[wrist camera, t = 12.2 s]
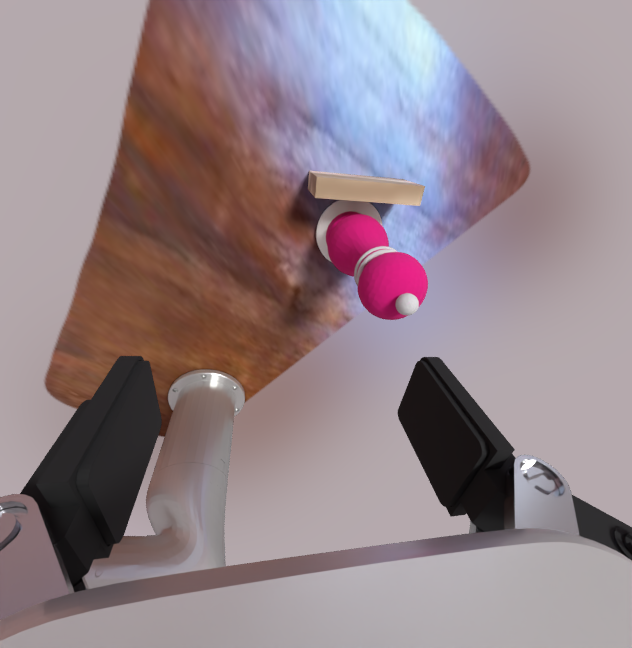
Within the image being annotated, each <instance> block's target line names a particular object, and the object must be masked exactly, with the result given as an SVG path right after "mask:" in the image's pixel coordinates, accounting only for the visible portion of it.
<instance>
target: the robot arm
mask: <svg viewBox="0 0 632 648" xmlns="http://www.w3.org/2000/svg"><path fill="white" fill-rule="evenodd" d="M168 402H169V405H170V407H171V409H172V410H173V413H172V416H171V419H170V423H169V426H168V429H167V432H166V435H165V438H164V442H163V444H162V447H161V450H160V453H159V457H158V460H157V463H156V466H155V469H154V472H153V475H152V479H151V481H150V484H149V488H148V491H147V497H146V508H147V513H148V517H149V520H150V522H151V525H152V527H153V529H154V531H155V533H156V535H151V536H146V537H145V536H123V535H124V533H125V530H126V527H127V524H128V521H129V518H130V515H131V512H132V509H133V506H134V503H135V501H136V498H137V495H138V492H139V489H140V486H141V484H142V481H143V478H144V475H145V472H146V468H147V466H148V463H149V461H150V457H151V455H152V452H153V449H154V446H155V443H156V440H157V437H158V435H159V432H160V428H161V414H160V409H159V405H158V400H157V395H156V390H155V386H154V381H153V376H152V371H151V367H150V363H149V361H144V360H143V358H142V357H141V356H121V357H119V358H118V359H117V361H116V362H115V364H114V365H113V367H112V368H111V370H110V371H109V373H108V375H107V376H106V378H105V379H104V381H103V382H102V384H101V385H100V387H99V388H98V390H97V391H96V393H95V394H94V396H93V398H92V399H91V400H86V401H84V402H83V403H82V404H81V405H80V406H79V408H78V409H77V411H76V412H75V414H74V415H73V417H72V418H71V420H70V421H69V422H68V424H67V425H66V427H65V429H64V430H63V431H62V433H61V434H60V436H59V437H58V439H57V440H56V442H55V443H54V445H53V446H52V448H51V449H50V450H49V452H48V453H47V455H46V456H45V458H44V459H43V461H42V462H41V464H40V465H39V467H38V468H37V470H36V471H35V472H34V474H33V475H32V477H31V478H30V480H29V481H28V483H27V484H26V486H25V487H24V489H23V490H22V492H21V493H20V494H12V495H8V496H3V497H0V648H632V527H630V526H628V525H626V524H625V523H623V522H621V521H619V520H617V519H615V518H614V517H612V516H610V515H608V514H606V513H604V512H602V511H601V510H599V509H597V508H595V507H593V506H592V505H590V504H588V503H586V502H584V501H582V500H581V499H579V498H577V497H575V496H573V495H572V494H571V490H570V487H569V485H568V483H567V482H566V480H565V479H564V477H563V476H562V475H561V474H560V473H559V472H558V471H557V470H556V469H555V468H553V467H552V466H551V465H549V464H548V463H546V462H545V461H543V460H541V459H539V458H536V457H534V456H530V455H520V456H518V457H517V458H515V457H514V456H513V454H512V452H513V451H514V448H513V447H512V446H511V445H510V443H509V442H508V441H507V440H506V438H505V437H504V436H503V435H502V434H501V432H500V431H499V430H498V429H497V428H496V426H495V425H494V424H493V423H492V421H491V420H490V419H489V418H488V417H487V415H486V414H485V413H484V412H483V410H482V409H481V408H480V407H479V406H478V404H477V403H476V402H475V401H474V399H473V398H472V397H471V396H470V394H469V393H468V392H467V391H466V390H465V388H464V387H463V386H462V385H461V383H460V382H459V381H458V380H457V378H456V377H455V376H454V375H453V374H452V372H451V371H450V370H449V369H448V368H447V366H446V365H445V364H444V363H443V361H442V360H441V359H440V358H438V357H423V358H422V359H421V360H420V361H418V362H417V363H416V365H415V368H414V371H413V373H412V376H411V378H410V381H409V383H408V386H407V389H406V391H405V394H404V396H403V399H402V401H401V404H400V406H399V409H398V417H399V420H400V422H401V424H402V426H403V428H404V430H405V432H406V434H407V436H408V438H409V440H410V442H411V444H412V446H413V448H414V450H415V452H416V455H417V457H418V459H419V461H420V463H421V465H422V467H423V469H424V471H425V473H426V475H427V477H428V478H429V481H430V483H431V485H432V487H433V489H434V491H435V493H436V495H437V497H438V499H439V501H440V503H441V504H442V505H443V506H445V507H446V508H447V510H448V512H449V514H450V516H458V515H465V514H466V513H467V514H468V516H469V518H470V520H471V521H470V530H469V534H462V535H455V536H447V537H439V538H432V539H423V540H416V541H408V542H400V543H393V544H386V545H379V546H370V547H364V548H356V549H349V550H341V551H334V552H326V553H319V554H312V555H305V556H298V557H290V558H283V559H275V560H269V561H261V562H255V563H247V564H240V565H233V566H226V565H225V543H224V522H225V521H224V520H225V505H226V493H227V483H228V472H229V462H230V452H231V442H232V431H233V422H234V416H236V415H237V414H238V413H239V412H240V411H241V409H242V408H243V406H244V402H245V392H244V389H243V387H242V385H241V384H240V383H239V382H238V381H237V380H236V379H235V378H234V377H232V376H231V375H228V374H226V373H224V372H220V371H217V370H195V371H191V372H188V373H186V374H184V375H182V376H180V377H179V378H177V379H176V380H175V381H174V382H173V384H172V386H171V388H170V390H169V393H168Z"/></svg>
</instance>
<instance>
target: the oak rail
mask: <svg viewBox="0 0 632 648" xmlns="http://www.w3.org/2000/svg"><path fill="white" fill-rule="evenodd" d="M424 188H425V186H422V185H419V184H416V183H413V182H410V181H407V180H404V179H394V178H383V177H372V176H361V175H350V174H339V173H328V172H317V171H309V180H308V190H309V191H310V192H311V194H312V195H313V196H314V197H315V198H322V199H336V200H349V201H363V202H376V203H390V204H403V205H417V206H420V203H421V200H422V196H423V192H424Z"/></svg>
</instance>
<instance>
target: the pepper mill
mask: <svg viewBox="0 0 632 648" xmlns="http://www.w3.org/2000/svg"><path fill="white" fill-rule="evenodd" d="M326 243H327V246H328V254H329V257H330V260H331V261H332V263H333V264H334V265H335V267H336V268H337V269H338V270H339V271H341V272H343V273H345V274H347V275H350V276H354V278H355V282H356V284H357V286H358V294H359V298H360V300H361V302H362V304H363V306H364V307H365V308H366V309H367V310H368V311H369V312H370V313H371V314H373V315H375V316H377V317H379V318H382V319H388V320H395V319H400V318H404V317H406V316H408V315H412V314H413V313H415V312H416V310H417V309H418V307H419V306H420V305H421V303H422V302H423V300H424V298H425V296H426V293H427V288H428V280H427V276H426V273H425V270H424V269H423V267H422V266H421V264H420V263H419V262H418V261H417V260H416V259H415V258H413V257H412V256H410V255H408V254H405V253H401V252H397V251H396V250H395V249H393V248H391V247H389V243H388V238H387V234H386V232H385V230H384V228H383V227H382V225H381V224H380V223H379V222H378V221H377V220H376V219H374V218H373V217H370V216H368V215H363V214H360V213H358V212H353V211H350V212H344V213H341V214H340V215H338V216H336V217H335V218H334V219H333V220H332V221H331V223H330V224H329V226H328V229H327V232H326Z"/></svg>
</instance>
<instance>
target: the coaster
mask: <svg viewBox="0 0 632 648" xmlns="http://www.w3.org/2000/svg"><path fill="white" fill-rule="evenodd" d="M350 211H353V212H358V213H360V214H363V215H368V216H370V217H373V218H374V219H376V220H377V221H378V222H379V223H380V224H381V225H382V221H381V217H380V215H379V213H378V211H377V210H376V208H375V207H374V206H373V205H372V204H370V203H369V202H363V201H349V200H337V201H335V202H334V203H332V204H331V205H330V206H328V207H327V208H326V209H325V211H324V212H323V213H322V215H321V217H320V219H319V221H318V224H317V228H316V240H317V244H318V247H319V249H320V251H321V253H322V254H323V255H324V257H325V258H326V259H328V260H329V261H330V262H332V261H331V260H330V257H329V254H328V246H327V243H326V232H327V229H328V226H329V224H330V223H331V221H332V220H333V219H334V218H335V217H336V216H338V215H340V214H341V213H344V212H350Z"/></svg>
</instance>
